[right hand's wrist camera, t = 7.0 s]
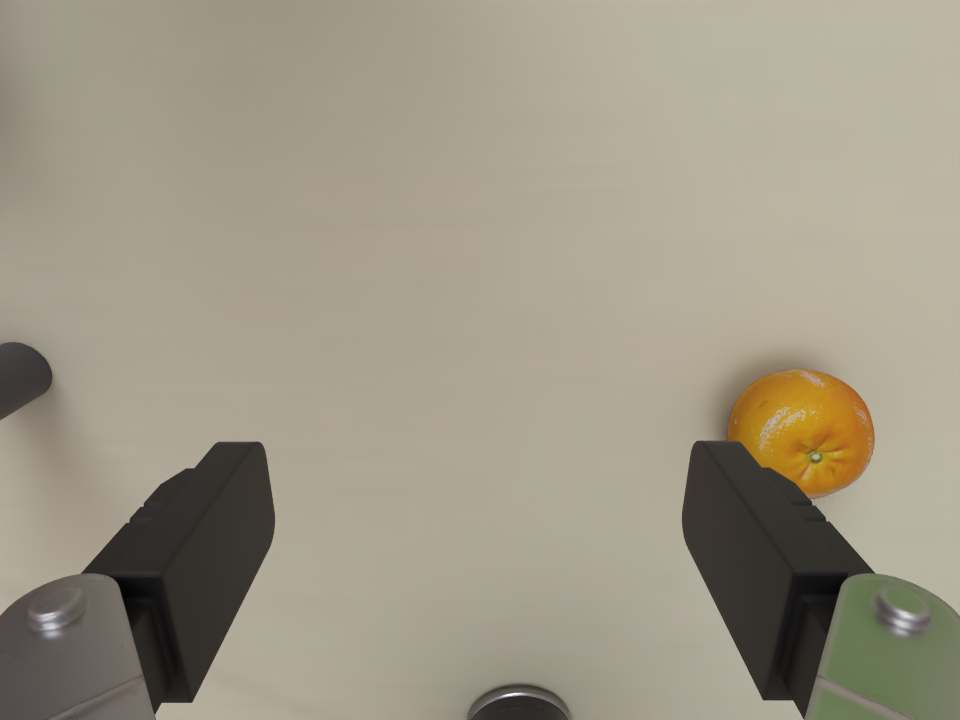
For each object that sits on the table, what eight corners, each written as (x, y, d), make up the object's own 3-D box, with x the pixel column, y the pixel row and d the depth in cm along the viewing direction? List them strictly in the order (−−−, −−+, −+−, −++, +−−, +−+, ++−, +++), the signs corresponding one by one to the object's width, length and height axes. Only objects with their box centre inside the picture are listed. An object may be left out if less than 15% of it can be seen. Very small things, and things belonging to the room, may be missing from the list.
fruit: (759, 346, 37) (835, 460, 32) (854, 346, 40) (934, 450, 35) (684, 420, 43) (738, 525, 38) (771, 415, 46) (831, 511, 42)
